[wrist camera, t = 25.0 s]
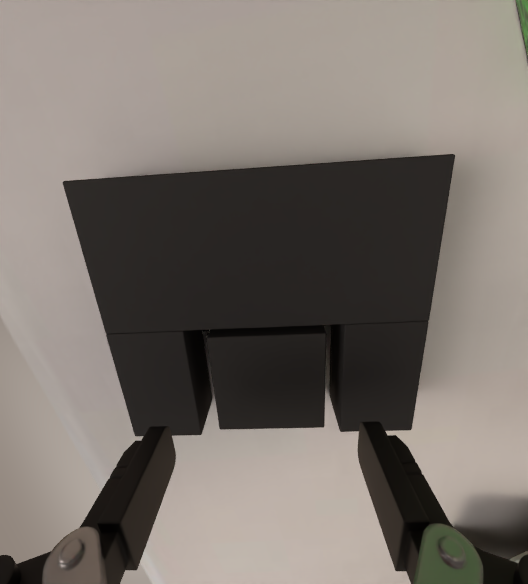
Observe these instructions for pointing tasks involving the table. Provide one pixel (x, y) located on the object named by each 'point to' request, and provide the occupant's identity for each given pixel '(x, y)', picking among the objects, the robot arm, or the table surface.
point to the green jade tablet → (523, 19)
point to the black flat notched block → (266, 276)
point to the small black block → (269, 376)
